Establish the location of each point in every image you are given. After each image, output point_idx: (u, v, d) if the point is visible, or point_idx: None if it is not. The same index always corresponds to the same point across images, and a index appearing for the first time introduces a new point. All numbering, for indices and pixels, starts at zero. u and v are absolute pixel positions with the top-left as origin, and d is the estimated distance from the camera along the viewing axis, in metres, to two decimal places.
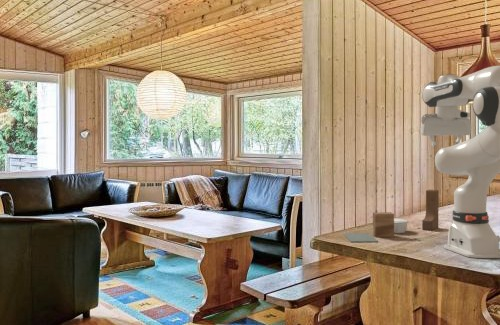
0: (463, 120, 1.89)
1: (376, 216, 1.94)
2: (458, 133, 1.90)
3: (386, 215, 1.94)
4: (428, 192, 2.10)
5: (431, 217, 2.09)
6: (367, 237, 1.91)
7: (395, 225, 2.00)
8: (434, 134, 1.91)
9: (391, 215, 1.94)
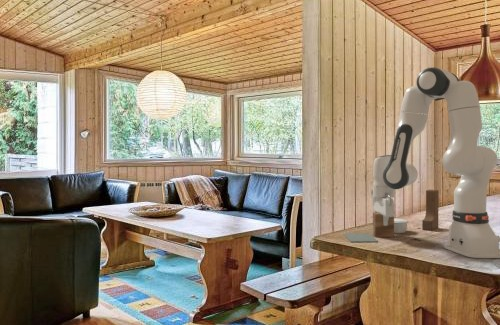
0: None
1: (376, 216, 1.94)
2: None
3: None
4: (428, 192, 2.10)
5: (431, 217, 2.09)
6: (367, 237, 1.91)
7: (395, 225, 2.00)
8: None
9: None
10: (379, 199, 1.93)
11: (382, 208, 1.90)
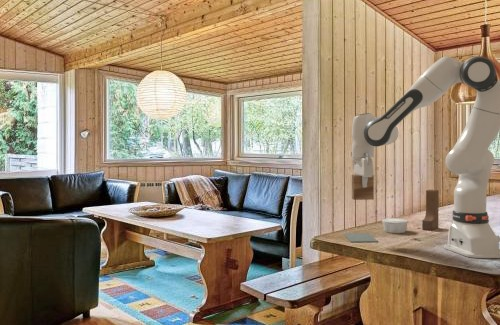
0: None
1: (355, 177, 1.84)
2: None
3: None
4: (428, 192, 2.10)
5: (431, 217, 2.09)
6: (367, 237, 1.91)
7: (395, 225, 2.00)
8: None
9: None
10: (358, 160, 1.84)
11: (361, 168, 1.81)
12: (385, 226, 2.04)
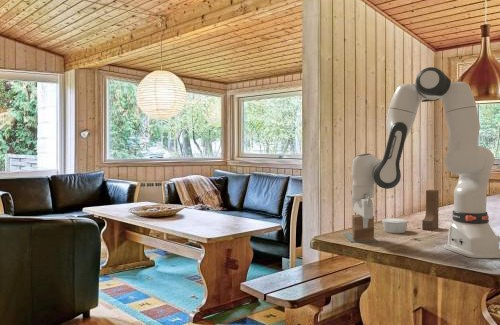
0: None
1: (355, 219, 1.85)
2: None
3: None
4: (428, 192, 2.10)
5: (431, 217, 2.09)
6: None
7: (395, 225, 2.00)
8: None
9: None
10: (358, 200, 1.84)
11: (361, 209, 1.81)
12: (385, 226, 2.04)
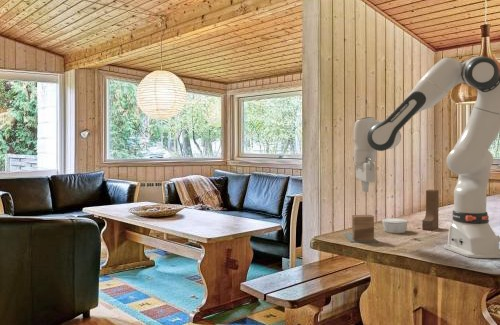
0: None
1: (355, 219, 1.85)
2: None
3: (366, 218, 1.85)
4: (428, 192, 2.10)
5: (431, 217, 2.09)
6: None
7: (395, 225, 2.00)
8: None
9: (371, 218, 1.85)
10: (360, 164, 1.80)
11: (363, 173, 1.77)
12: (385, 226, 2.04)
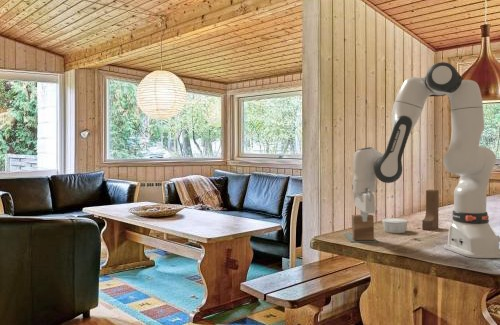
0: None
1: (355, 218, 1.85)
2: None
3: None
4: (428, 192, 2.10)
5: (431, 217, 2.09)
6: None
7: (395, 225, 2.00)
8: None
9: (370, 217, 1.85)
10: (359, 194, 1.81)
11: (362, 204, 1.78)
12: (385, 226, 2.04)
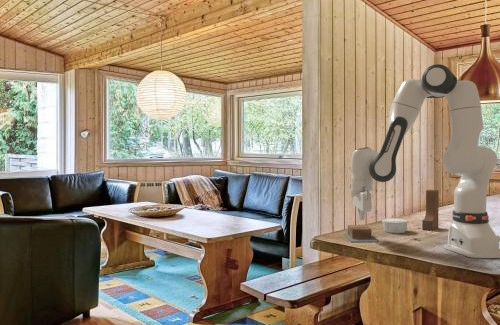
0: None
1: (349, 225, 1.98)
2: None
3: (358, 225, 1.98)
4: (428, 192, 2.10)
5: (431, 217, 2.09)
6: None
7: (395, 225, 2.00)
8: None
9: (363, 225, 1.98)
10: (357, 193, 1.86)
11: (360, 202, 1.83)
12: (385, 226, 2.04)
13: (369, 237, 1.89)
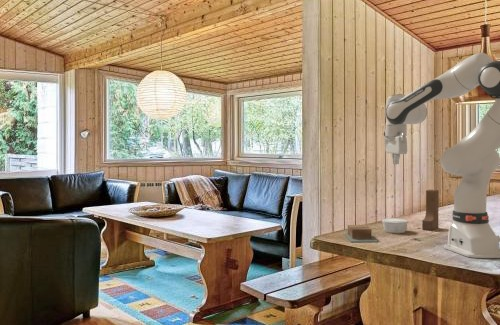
0: None
1: (349, 225, 1.98)
2: None
3: (358, 225, 1.98)
4: (428, 192, 2.10)
5: (431, 217, 2.09)
6: None
7: (395, 225, 2.00)
8: None
9: (363, 225, 1.98)
10: (392, 138, 1.94)
11: (395, 146, 1.91)
12: (385, 226, 2.04)
13: (369, 237, 1.89)
